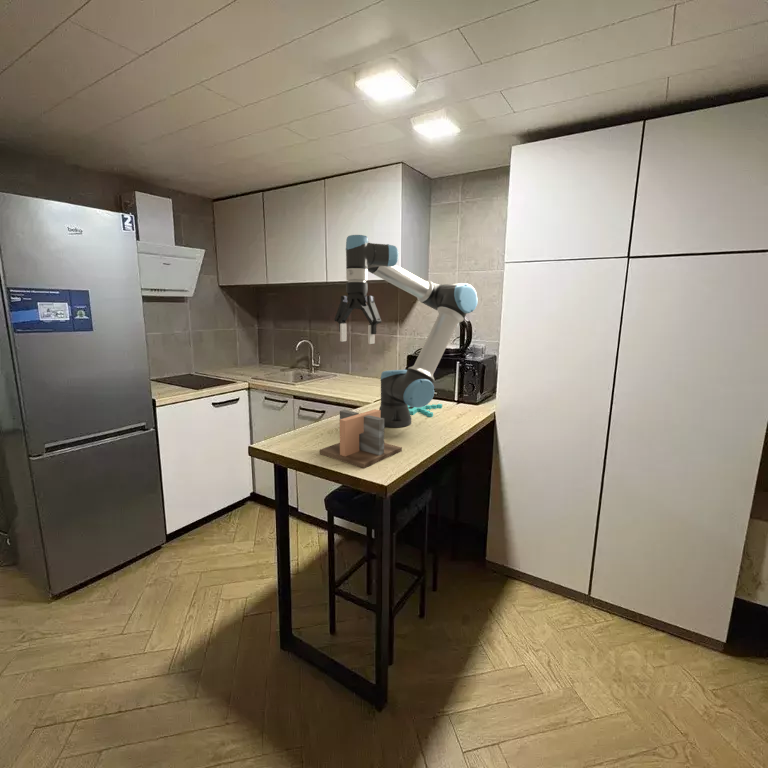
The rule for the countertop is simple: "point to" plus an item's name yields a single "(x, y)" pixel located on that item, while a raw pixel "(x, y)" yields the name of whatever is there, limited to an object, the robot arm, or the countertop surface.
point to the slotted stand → (365, 443)
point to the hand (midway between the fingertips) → (357, 342)
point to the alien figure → (424, 409)
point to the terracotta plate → (353, 431)
